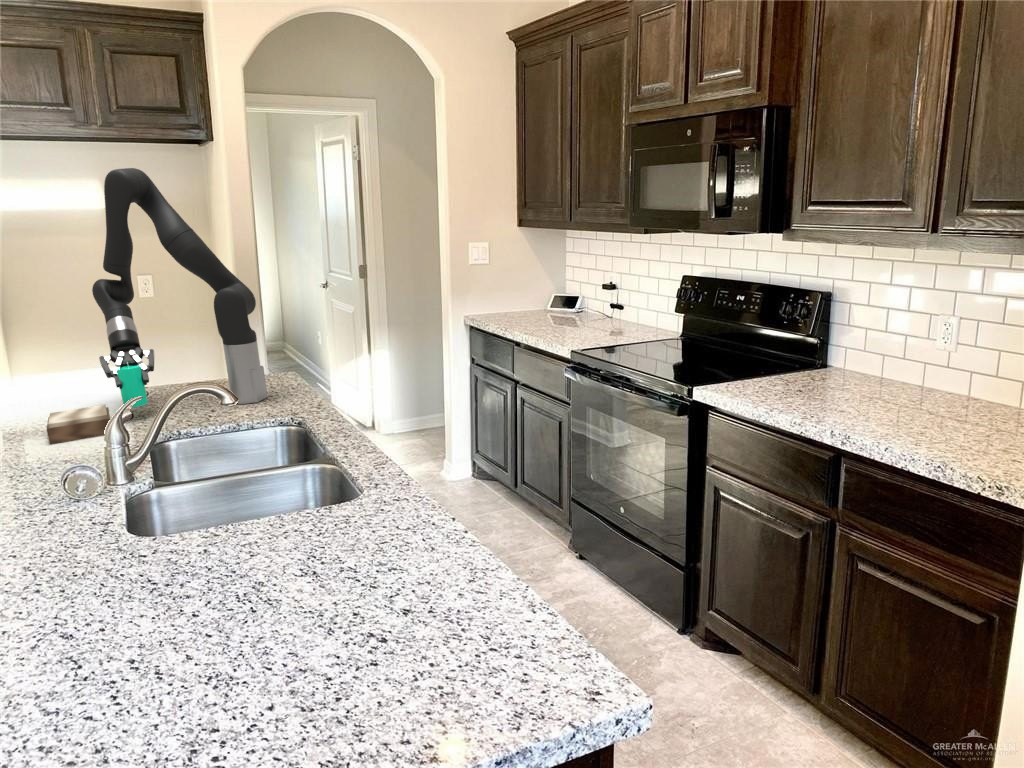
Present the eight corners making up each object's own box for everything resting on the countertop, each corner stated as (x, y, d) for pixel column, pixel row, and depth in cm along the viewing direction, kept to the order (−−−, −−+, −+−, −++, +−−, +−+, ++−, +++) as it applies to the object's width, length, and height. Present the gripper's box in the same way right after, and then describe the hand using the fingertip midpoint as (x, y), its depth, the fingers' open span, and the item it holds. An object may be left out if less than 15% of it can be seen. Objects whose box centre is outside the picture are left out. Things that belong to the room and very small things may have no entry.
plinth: (110, 421, 206) (107, 403, 204) (112, 433, 194) (109, 414, 192) (51, 431, 199) (47, 413, 198) (49, 444, 187) (45, 425, 186)
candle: (141, 406, 203) (132, 363, 200) (119, 408, 204) (110, 365, 201) (151, 400, 209) (143, 358, 206) (130, 402, 210) (122, 360, 207)
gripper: (92, 331, 205) (101, 382, 197) (149, 324, 211) (161, 373, 204) (95, 348, 211) (105, 397, 203) (151, 340, 217) (163, 388, 210)
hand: (133, 385), depth 204 cm, fingers closed on candle, 5 cm apart
